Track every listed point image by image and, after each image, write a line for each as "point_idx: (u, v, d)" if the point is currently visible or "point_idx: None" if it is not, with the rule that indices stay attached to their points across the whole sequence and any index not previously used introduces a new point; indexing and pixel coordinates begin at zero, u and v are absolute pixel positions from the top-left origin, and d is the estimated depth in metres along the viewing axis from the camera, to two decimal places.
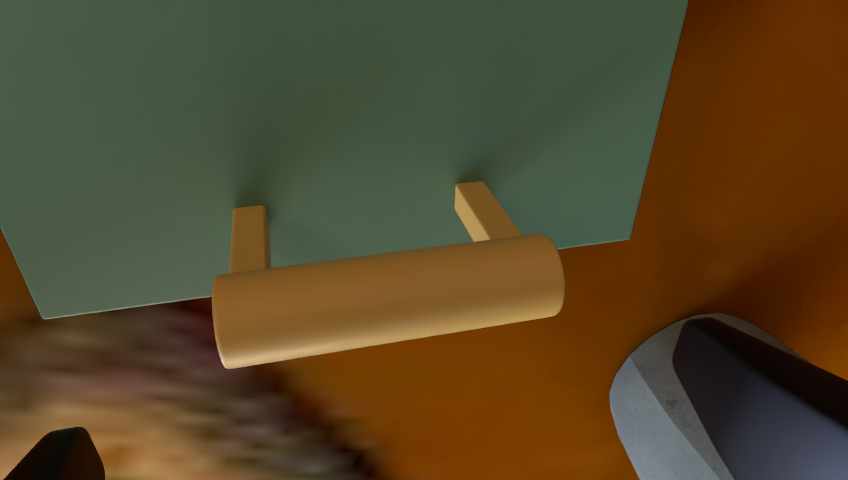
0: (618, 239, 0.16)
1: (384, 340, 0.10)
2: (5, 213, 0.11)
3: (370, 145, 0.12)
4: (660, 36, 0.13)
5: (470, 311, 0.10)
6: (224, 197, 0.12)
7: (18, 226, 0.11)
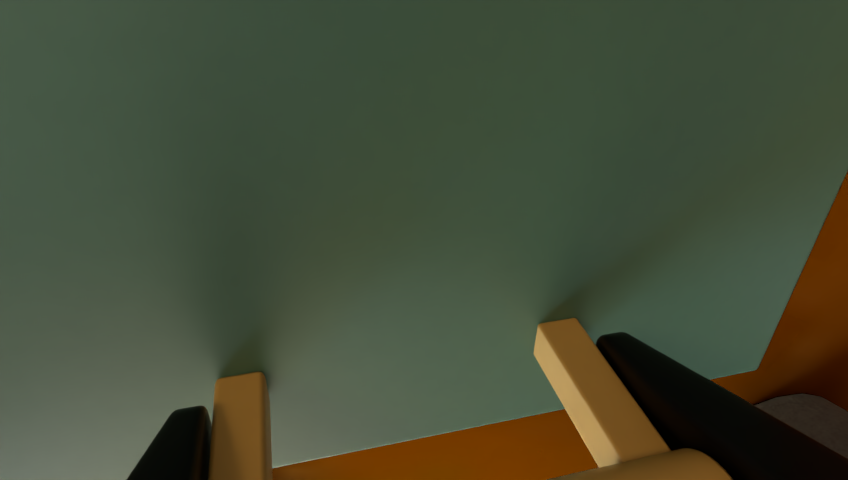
0: (741, 371, 0.11)
1: None
2: None
3: (420, 283, 0.08)
4: (846, 117, 0.09)
5: None
6: (201, 365, 0.08)
7: None
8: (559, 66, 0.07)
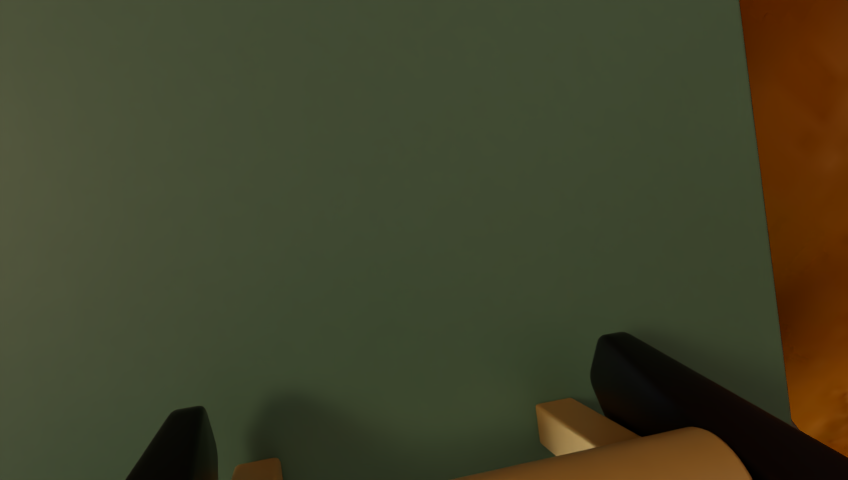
0: None
1: None
2: None
3: (416, 358, 0.09)
4: (740, 196, 0.11)
5: None
6: (223, 450, 0.09)
7: None
8: (491, 167, 0.10)
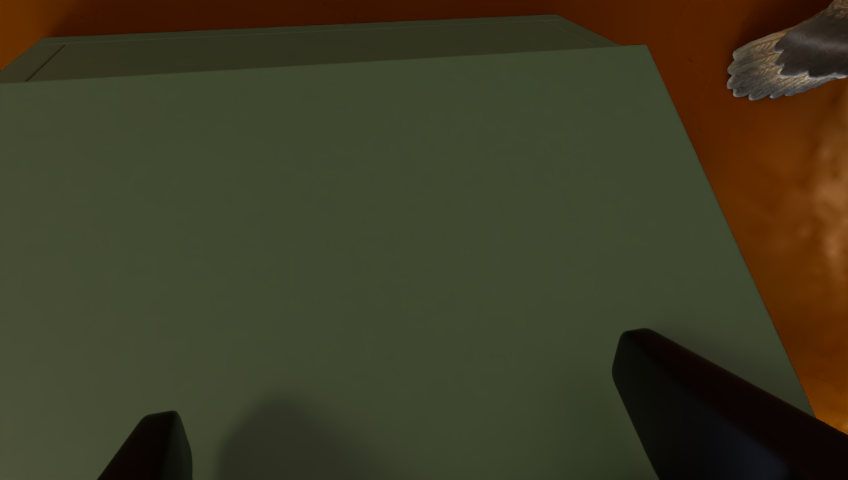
0: None
1: None
2: None
3: None
4: (748, 322, 0.11)
5: None
6: None
7: None
8: (498, 308, 0.10)
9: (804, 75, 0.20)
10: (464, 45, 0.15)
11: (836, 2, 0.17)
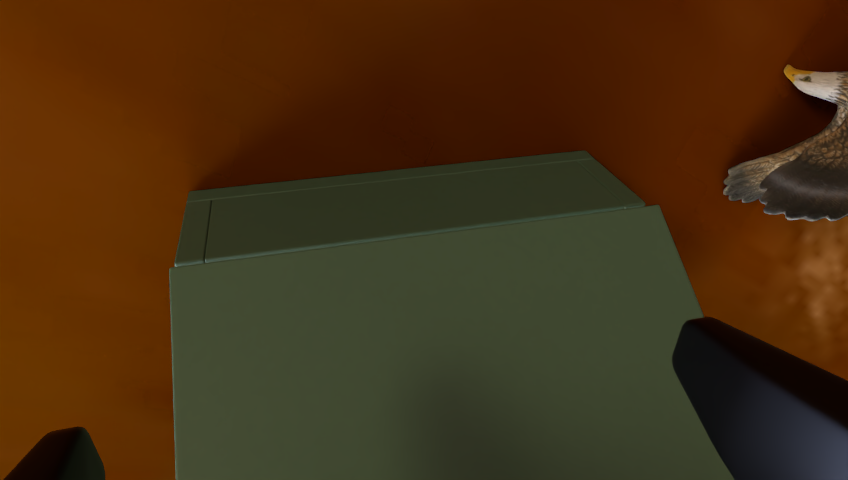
0: None
1: None
2: None
3: None
4: None
5: None
6: None
7: None
8: (555, 429, 0.15)
9: None
10: (517, 198, 0.19)
11: (809, 148, 0.21)
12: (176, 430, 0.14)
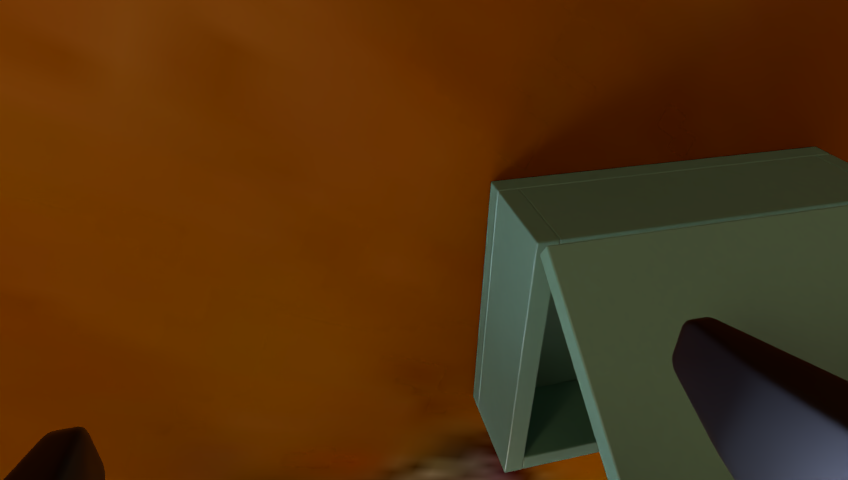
0: None
1: None
2: None
3: None
4: None
5: None
6: None
7: None
8: None
9: None
10: (791, 189, 0.21)
11: None
12: (591, 385, 0.16)
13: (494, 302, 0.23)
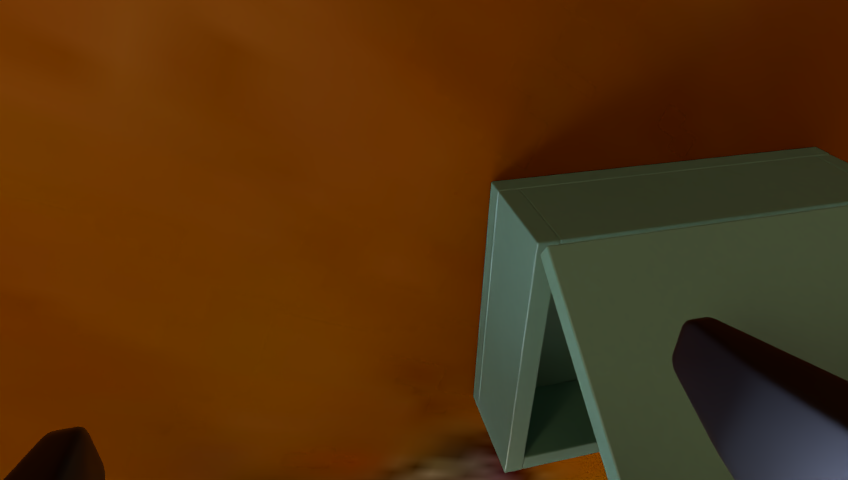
0: None
1: None
2: None
3: None
4: None
5: None
6: None
7: None
8: None
9: None
10: (791, 189, 0.21)
11: None
12: (591, 385, 0.16)
13: (494, 302, 0.23)
